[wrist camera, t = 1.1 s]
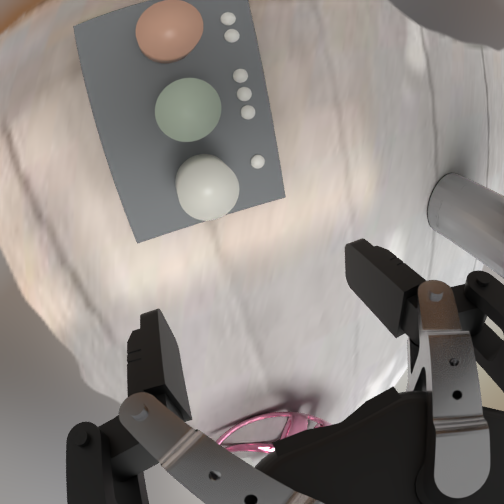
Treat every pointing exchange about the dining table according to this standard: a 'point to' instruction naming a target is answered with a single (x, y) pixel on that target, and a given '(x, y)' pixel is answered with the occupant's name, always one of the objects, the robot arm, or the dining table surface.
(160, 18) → the terracotta button
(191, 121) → the sage button
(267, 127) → the charcoal panel
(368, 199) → the dining table surface
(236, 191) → the cream button
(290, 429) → the spiral basket
